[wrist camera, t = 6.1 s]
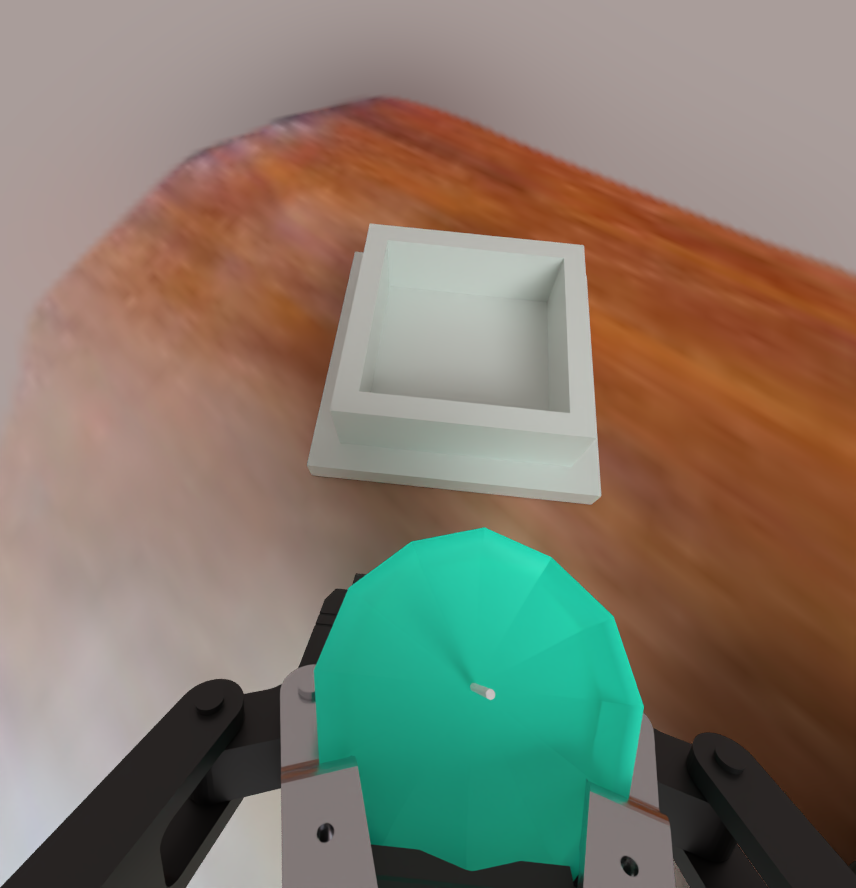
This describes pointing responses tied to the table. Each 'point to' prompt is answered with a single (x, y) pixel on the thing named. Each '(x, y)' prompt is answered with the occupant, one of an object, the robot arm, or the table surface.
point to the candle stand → (463, 368)
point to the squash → (853, 867)
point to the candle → (477, 701)
